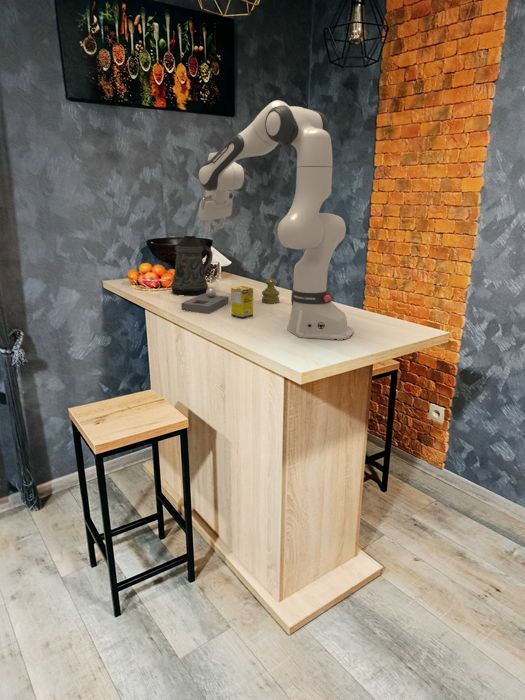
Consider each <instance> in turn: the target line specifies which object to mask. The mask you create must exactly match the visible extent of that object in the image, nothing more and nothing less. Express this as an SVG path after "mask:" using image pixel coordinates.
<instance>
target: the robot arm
mask: <svg viewBox="0 0 525 700" xmlns="http://www.w3.org/2000/svg"><path fill="white" fill-rule="evenodd" d="M329 127H330V126H329V121H328V117H327V116H326V115H325V114H324V113H322V112H321V111H318V110H315V109H313V110H312V109H309V108H305V107H302V106H293V105H291V106H290V105H289V104H287V102H285V101H283V100H280V99H277V100H273V101H272V102H269V103H268V105H266V106H265V107H264V108H263V109H262V110H261V111H260V112H259V113H258V114H257V115H256V116H255V118H254V119H253V120H252V122H251V123H250V124H249V125H248V126H247V127H246V128H244V130H242V131H240V132H239V133H238V134H236V135H235V136H234V137H232V138H231V139H229V140H228V141H227V143H225V144H224V145H223V146H222V147H221V148H220V149H219V150H218V151H212V152H210V153H209V154H208V157H207V160H206V161H204V162H203V164H202V165H201V166H200V168H199V170H198V173H197V178H198V182H199V184H200V185H201V187H202V188H203V189H204V190H205V194H204V195H205V196H203V197H202V199H201V201H200V203H199V207H198V215H197V217H198V220H199V221H203V223H204V226H205V231H206V232H212V226H211V221H214V220H218V219H219V223H218V224H217V227H218V229H223V228H224V225H225V222H226V218H227V217H231V215H232V213H233V204H234V203H233V199H234V195H235V194H234V192H231V191H232V190H233V191H235V190H240V189H241V188H242V187H243V186H244V184H245V183H246V182H245V181H246V171H245V169H244V167H243V166H242V165H241V164H239V163H237V162H236V161H239V160H242V159H245V158H250V157H252V158H253V157H259V156H260V157H261V156H264V155H265V156H266V155H267V154H268V153H270V152H272V151H273V150H274V149H275V148H276V147H277V146H278V144H279V145H283V146H285V147H290V146H293V147H294V148H295V150H296V155H297V157H296V158H297V160H296V180H295V182H296V183H295V193H294V198H293V201H292V203H291V206H290V208H289V210H288V212H287V213H286V215H285V216H284V217H283V218H282V219H281V220H280V222H279V223H278V226H277V239H278V240H279V243H280V244H281V246H283V247H284V248H286V249H287V248H288V249H292V250H304V253H303V256H301V258H300V260H298V261H297V262H296V263H295V264H294V268H293V284H292V285H293V288H292V290H291V295H290V296H291V299H290V300H291V301H290V302H291V312H290V318H289V322H288V325H287V329H286V330H287V331H288V332H289V333H291V334H294V336H296V337H297V338H305V339H309V338H310V339H321V340H322V339H324V340H334V339H337V341H338V340H339V341H343V339H344V340H348V339H349V338H351V337H352V336H353V334H354V329H353V327H352V326H348V321H347V316H346V314H345V312H344V311H342V310H341V309H340V308H339V307H338V306H337V305H335V303H333V302H332V299H333V297H332V296H333V292H332V291H331V292H330V291H329V290H328V289H327V285H328V283H327V282H328V271H329V266H330V262H331V259H332V257H333V255H334V252H335V249H336V248H337V246H338V245H339V244H340V243H341V242H342V241H343V240H344V239H345V236H346V233H347V231H346V230H347V227H346V226H347V225H346V222H345V221H344V219H343V217H341V216H339V215H337V214H334V213H329V212H320V209H321V208H322V207H321V206H322V205H323V203H324V201H325V200H326V199H328V198H329V196H331V193H332V182H333V181H332V180H333V147H332V138H331V135H330V133H329ZM351 335H352V336H351ZM350 336H351V337H350Z"/></svg>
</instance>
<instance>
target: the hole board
mask: <svg viewBox="0 0 525 700" xmlns="http://www.w3.org/2000/svg"><path fill="white" fill-rule="evenodd" d="M228 303H229V296H226V295H217V294H216V295H215V296H214V297H208V296H207V294H201V295H198V296H193V297H192V298H190V299H188V300H185V301H184V302H181V305H180V306H181V311H182V310H185V311H184V312H189V311H191V312H190V313H198V312H199V313H200V314H211V312H212V313H213V312H216V311H217V310H219V309H221V308H223V307H225V306H227V305H228ZM226 304H227V305H226ZM224 305H225V306H224Z"/></svg>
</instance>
